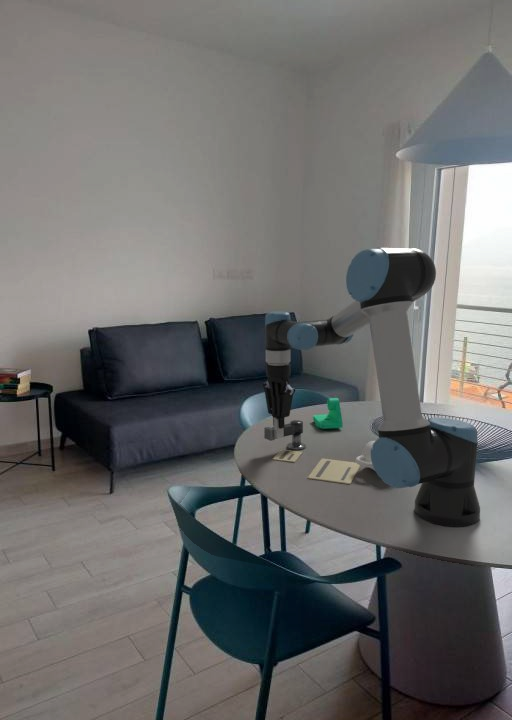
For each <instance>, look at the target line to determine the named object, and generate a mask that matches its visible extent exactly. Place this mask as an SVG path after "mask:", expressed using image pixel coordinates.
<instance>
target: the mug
mask: <svg viewBox="0 0 512 720" xmlns="http://www.w3.org/2000/svg"><path fill="white" fill-rule="evenodd" d="M375 441H376V440H370V441H369V442H367V443H366V444H365V445H364V446H363V448H362V450H361V455H359V456H357V457H355V460H354V461H355V463H357V464H358V465H360V467H364V468H370V469H371V470H372V471H374V472H376V471H375V469H374V467H373V464H372V461H371V448H372V447H373V446H372V445H373V443H374V442H375Z"/></svg>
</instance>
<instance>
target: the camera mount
mask: <svg viewBox="0 0 512 720" xmlns="http://www.w3.org/2000/svg"><path fill="white" fill-rule="evenodd" d="M326 404H327V406H326V407H327V410H328V414H327V413H325V414H314V415H313V416H312V420H313V422H314V425H315V426H316V427H317V428H318V429H340V428H342V429H343V426H344V425H343V417H342V411H341V409H342V408H341V404H340V399H339V398H338V397H330V398H327V401H326Z"/></svg>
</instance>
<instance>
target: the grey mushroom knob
mask: <svg viewBox="0 0 512 720" xmlns="http://www.w3.org/2000/svg"><path fill="white" fill-rule="evenodd" d="M291 436H292V437H291V442H289V443H287V444H286V447H287V448H289V450H291V451H302V449H303V450H305V449H306V448H307V446H306V444H305V443H304V442H302V434H293V435H291Z"/></svg>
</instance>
